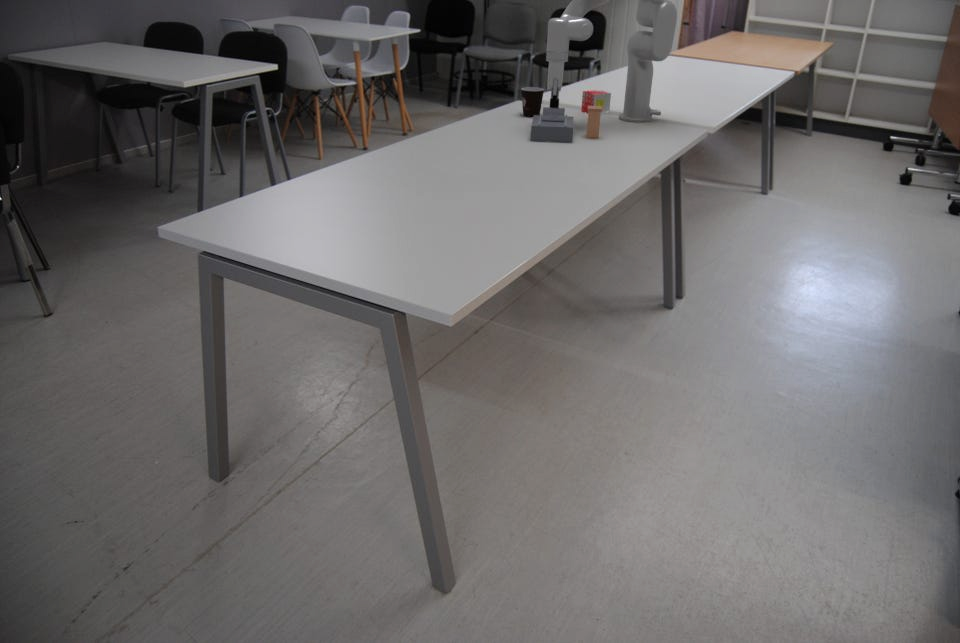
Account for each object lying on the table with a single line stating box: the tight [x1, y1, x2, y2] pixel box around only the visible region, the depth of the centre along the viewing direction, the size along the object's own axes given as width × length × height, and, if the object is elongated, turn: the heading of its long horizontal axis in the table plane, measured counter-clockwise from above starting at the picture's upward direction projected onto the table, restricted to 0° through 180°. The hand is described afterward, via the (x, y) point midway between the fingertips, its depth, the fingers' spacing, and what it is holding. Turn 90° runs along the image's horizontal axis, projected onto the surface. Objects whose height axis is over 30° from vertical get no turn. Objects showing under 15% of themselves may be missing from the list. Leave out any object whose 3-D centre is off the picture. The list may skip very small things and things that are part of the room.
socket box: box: [530, 113, 574, 143], centre depth 256 cm, size 14×18×6 cm
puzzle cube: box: [580, 89, 612, 115], centre depth 293 cm, size 8×8×8 cm
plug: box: [586, 106, 602, 139], centre depth 255 cm, size 5×5×10 cm
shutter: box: [542, 106, 566, 121], centre depth 257 cm, size 8×8×3 cm
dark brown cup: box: [520, 86, 545, 118], centre depth 286 cm, size 12×9×10 cm
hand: (553, 110), depth 265 cm, fingers closed
